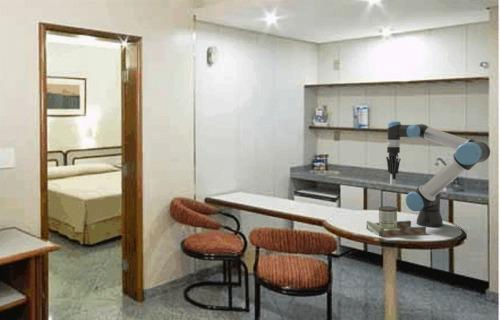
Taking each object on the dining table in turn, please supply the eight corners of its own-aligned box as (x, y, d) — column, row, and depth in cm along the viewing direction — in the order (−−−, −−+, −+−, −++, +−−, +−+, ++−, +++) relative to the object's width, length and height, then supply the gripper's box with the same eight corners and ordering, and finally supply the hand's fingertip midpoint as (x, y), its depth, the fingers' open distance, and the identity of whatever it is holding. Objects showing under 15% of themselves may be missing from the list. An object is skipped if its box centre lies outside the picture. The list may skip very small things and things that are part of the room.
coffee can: (376, 230, 273) (376, 206, 272) (393, 229, 274) (393, 206, 273) (381, 234, 263) (382, 209, 262) (399, 233, 264) (400, 209, 262)
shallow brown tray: (409, 226, 281) (409, 218, 280) (425, 233, 264) (426, 224, 263) (366, 229, 275) (366, 221, 275) (380, 236, 258) (380, 227, 258)
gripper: (382, 145, 291) (381, 183, 294) (393, 147, 279) (392, 186, 281) (393, 145, 293) (392, 182, 296) (404, 147, 281) (403, 185, 283)
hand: (392, 184), depth 288 cm, fingers closed
